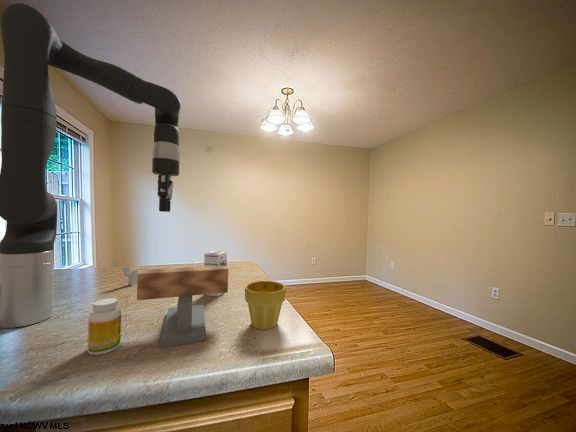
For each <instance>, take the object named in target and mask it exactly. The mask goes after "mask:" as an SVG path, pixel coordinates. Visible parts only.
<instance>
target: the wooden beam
mask: <svg viewBox="0 0 576 432" xmlns="http://www.w3.org/2000/svg"><path fill="white" fill-rule="evenodd" d="M138 272H139V273H138V274H137V284H136V301H145V300H146V301H147V300H157V299H168V298H170V299H171V298H179V297H181V296H192V297H193V296H202V295H204V294H215V293H223V294H224V293H229V291H228V290H229V268H228V266H209V267H204V266H191V267H173V268H169V267H168V268H154V269H152V268H149V269H141V270H139V271H138Z"/></svg>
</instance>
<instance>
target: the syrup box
mask: <svg viewBox="0 0 576 432" xmlns="http://www.w3.org/2000/svg"><path fill="white" fill-rule="evenodd" d="M203 258H204V259H203V260H204V262H203V263H204V265H203V267H209V266H227V263H228V262H227V261H228V252H227V251H224V250H212V251H210V252H205V253H204V257H203ZM227 267H228V266H227ZM222 294H224V293H215V294H204V295H205V296H210V297H212V296H213V297H220V296H221V295H222Z"/></svg>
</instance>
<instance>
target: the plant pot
mask: <svg viewBox="0 0 576 432" xmlns="http://www.w3.org/2000/svg"><path fill="white" fill-rule="evenodd" d="M286 290H287V289H286V285H284V283H282V282H278V281H276V280H275V281H274V280H257V281H252V282H250V283H247V284H246V285H245V287H244V301H245V302H246V303H247V307H248V313H249V318H250V322H251V323H250V324H251V326H252V327H253V328H255V329H258V330H270V328H271V329H273V328H275V327H276V326H277V325H278V322H279V318H280V314H281V310H282V306H283V303H284V302H285V299H286Z"/></svg>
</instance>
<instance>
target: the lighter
mask: <svg viewBox="0 0 576 432" xmlns="http://www.w3.org/2000/svg"><path fill="white" fill-rule="evenodd" d="M120 268H121V271H122V273H123V275H124V276H125V277H127V281H128V282H127V286H128V285H131V286H130V287H133V286H136V285H137V274H138V273H139V272H140V271H138V270H137V269H134V270H131V269H130V267H129V265H127V264H126V265H125V264H124V265H122V266H121V267H120ZM135 284H136V285H135ZM132 285H133V286H132Z"/></svg>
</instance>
